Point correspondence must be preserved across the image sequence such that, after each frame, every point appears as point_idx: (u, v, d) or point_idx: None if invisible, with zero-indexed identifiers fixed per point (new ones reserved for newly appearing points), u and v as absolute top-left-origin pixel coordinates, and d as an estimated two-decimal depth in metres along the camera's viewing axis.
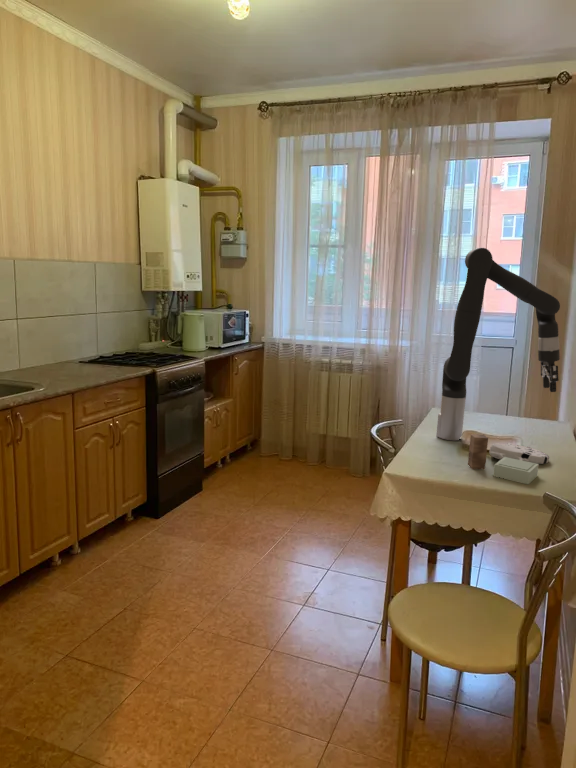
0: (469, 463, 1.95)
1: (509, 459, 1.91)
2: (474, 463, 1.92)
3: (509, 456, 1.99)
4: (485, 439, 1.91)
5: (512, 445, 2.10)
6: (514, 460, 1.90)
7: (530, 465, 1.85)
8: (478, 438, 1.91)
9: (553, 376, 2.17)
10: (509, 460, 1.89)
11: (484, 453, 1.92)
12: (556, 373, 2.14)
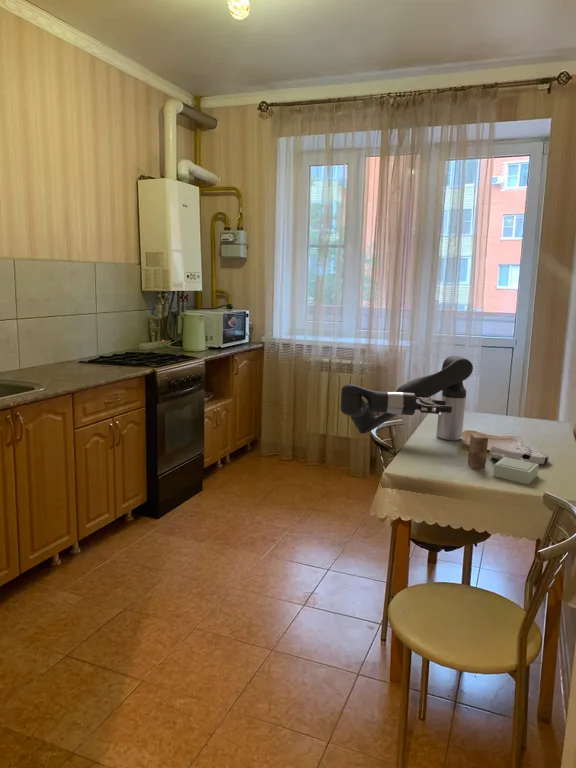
0: (469, 463, 1.95)
1: (509, 459, 1.91)
2: (474, 463, 1.92)
3: (510, 457, 1.98)
4: (485, 439, 1.91)
5: (511, 445, 2.09)
6: (514, 460, 1.90)
7: (530, 465, 1.85)
8: (478, 438, 1.91)
9: (433, 406, 1.88)
10: (509, 460, 1.89)
11: (484, 453, 1.92)
12: (430, 407, 1.84)
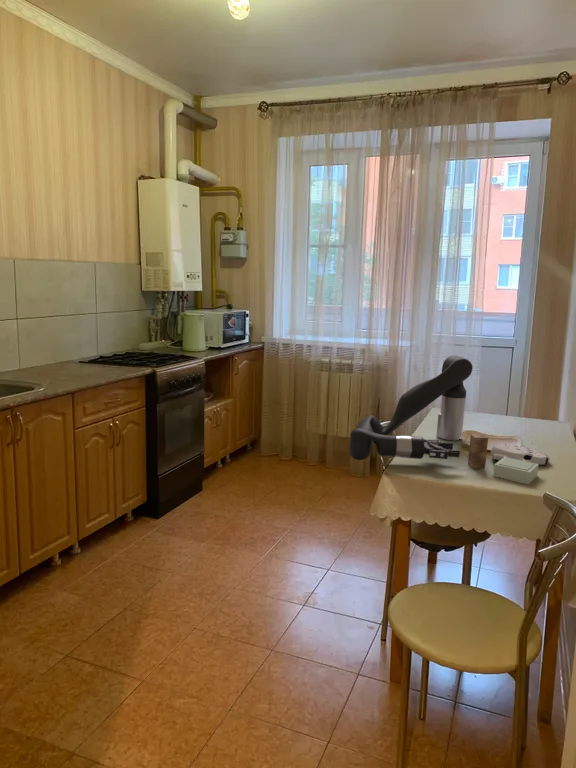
0: (469, 463, 1.95)
1: (509, 459, 1.91)
2: (474, 463, 1.92)
3: (512, 458, 1.97)
4: (485, 439, 1.91)
5: (511, 446, 2.09)
6: (514, 460, 1.90)
7: (530, 465, 1.85)
8: (478, 438, 1.91)
9: (441, 450, 1.90)
10: (509, 460, 1.89)
11: (484, 453, 1.92)
12: (438, 453, 1.86)
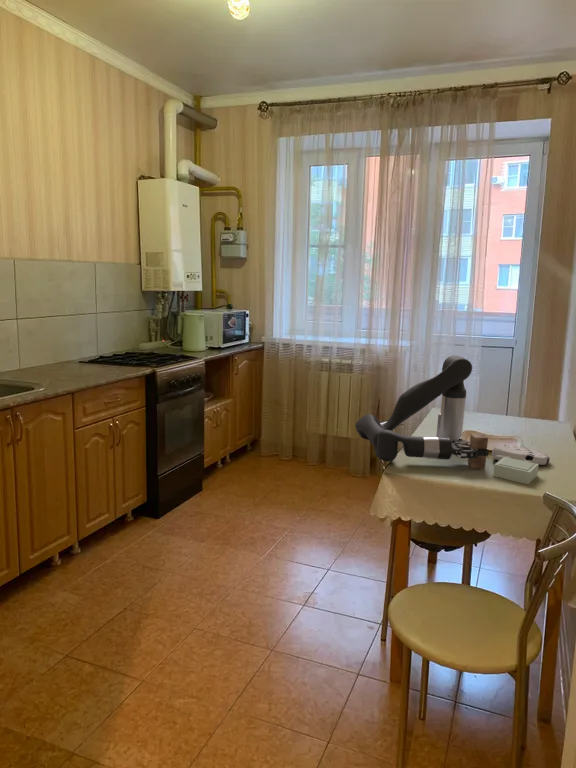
0: (469, 463, 1.95)
1: (509, 459, 1.91)
2: (474, 463, 1.92)
3: (514, 458, 1.96)
4: (485, 439, 1.91)
5: (511, 447, 2.08)
6: (514, 460, 1.90)
7: (530, 465, 1.85)
8: (478, 438, 1.91)
9: (470, 450, 1.91)
10: (509, 460, 1.89)
11: None
12: (469, 452, 1.88)
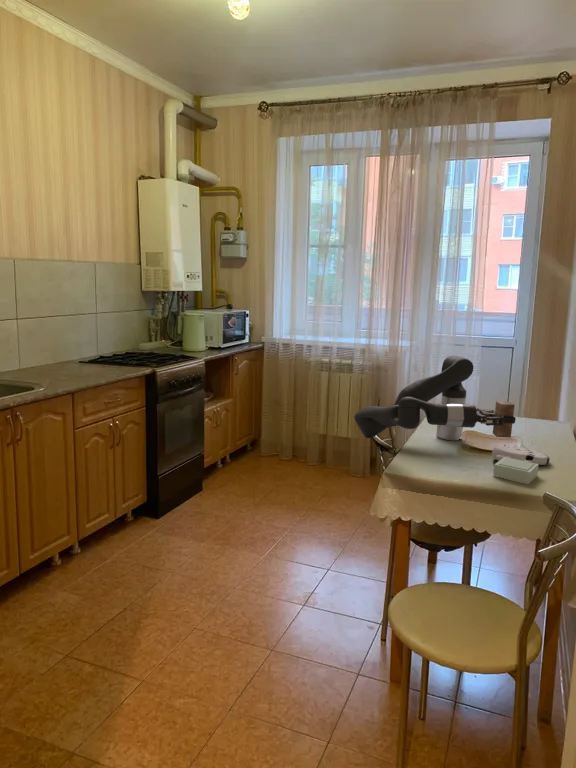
0: (494, 431, 1.88)
1: (509, 459, 1.91)
2: (499, 431, 1.85)
3: None
4: (511, 406, 1.83)
5: (511, 447, 2.08)
6: (514, 460, 1.90)
7: (530, 465, 1.85)
8: (504, 405, 1.83)
9: None
10: (509, 460, 1.89)
11: None
12: (495, 419, 1.80)
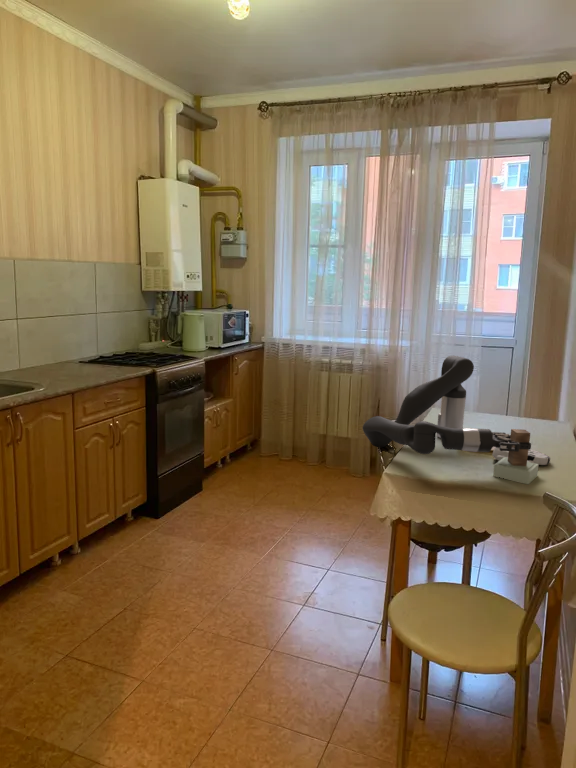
0: (509, 459, 1.87)
1: None
2: (515, 459, 1.84)
3: None
4: (527, 434, 1.82)
5: None
6: None
7: (530, 465, 1.85)
8: (520, 433, 1.82)
9: (511, 443, 1.82)
10: None
11: None
12: (510, 445, 1.78)
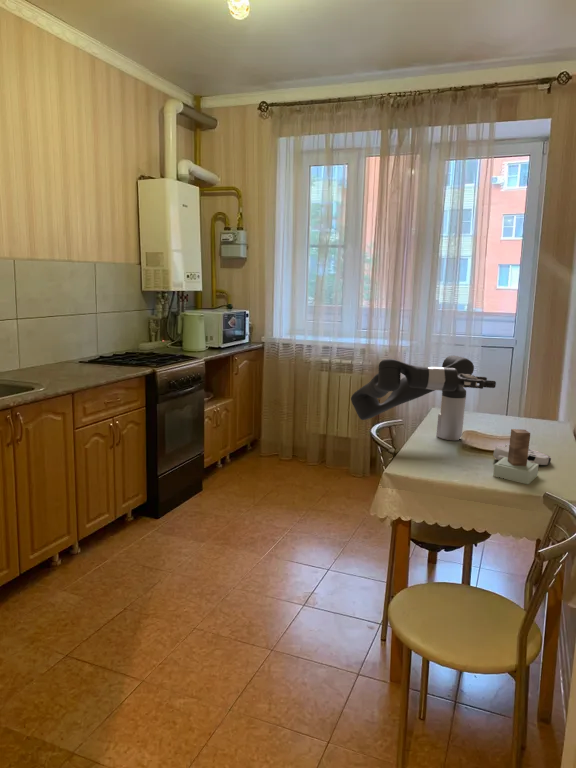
0: (509, 459, 1.87)
1: None
2: (515, 459, 1.84)
3: None
4: (527, 434, 1.82)
5: None
6: None
7: (530, 465, 1.85)
8: (520, 433, 1.82)
9: None
10: None
11: (526, 449, 1.83)
12: (474, 382, 1.76)
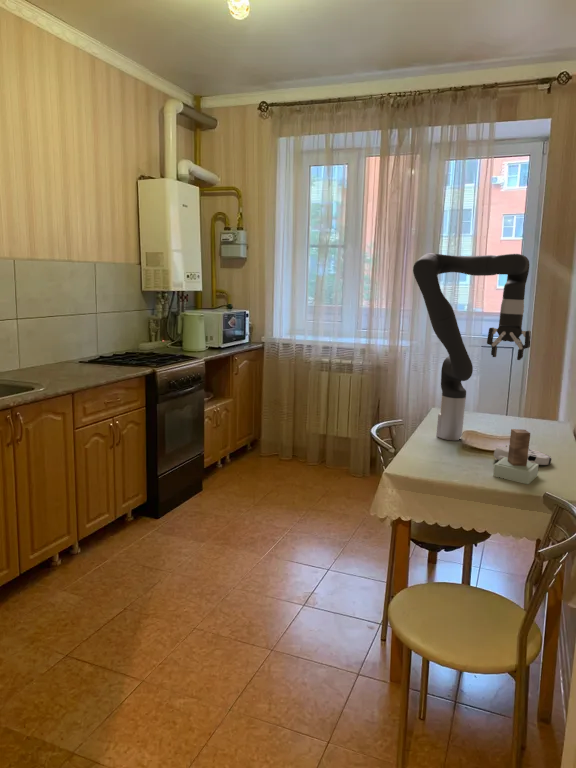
0: (509, 459, 1.87)
1: None
2: (515, 459, 1.84)
3: None
4: (527, 434, 1.82)
5: None
6: None
7: (530, 465, 1.85)
8: (520, 433, 1.82)
9: None
10: None
11: (526, 449, 1.83)
12: None
